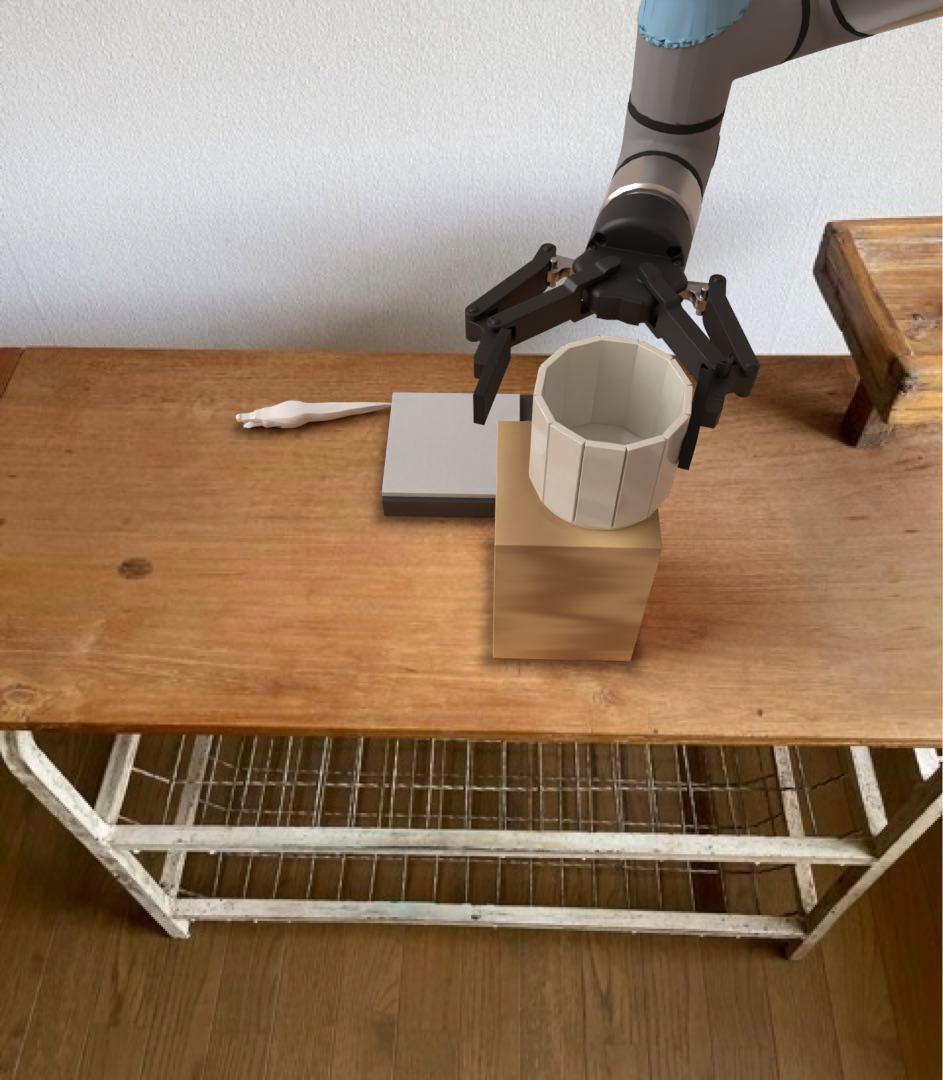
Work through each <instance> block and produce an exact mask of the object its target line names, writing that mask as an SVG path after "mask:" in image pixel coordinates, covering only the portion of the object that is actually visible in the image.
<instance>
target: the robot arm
mask: <svg viewBox="0 0 943 1080" xmlns="http://www.w3.org/2000/svg"><path fill="white" fill-rule="evenodd" d="M637 11H638V12H637V16H636V23H637V26H636V27H637V28H636V29H637V30H636V41H635V49H634V50H635V51H634V59H633V70H632V78H631V89H630V92H629V94H628V95H629V97H628V102H627V107H626V113H625V120H624V128H623V136H622V144H621V148H620V153H619V157H618V160H617V163H616V165H615V168H614V171H613V175H612V176H611V177H612V178H611V180H610V183H609V184H608V188H607V190H606V192H605V194H604V198H603V200H602V203H601V205H600V208H599V211H598V215H597V217H596V219H595V222H594V225H593V227H592V230H591V232H590V236H589V238H588V241H587V243H586V246H585V249H584V251H583V252H582V253H581V254H580V255H579V256H577V257H576V258H575V259H573V258H572V257H571V258H570V257H566V256H563V255H559V254H557V246H556V245H555V244H553V243H551V242H546V243H543V244H541V245H540V247H539V248H538V249H537V252H536V253H535V255H534V256H533V258H532V259H530V261H528V262H527V263H525V264H524V265H523V266H521V267H520V268H519V269H517V270H515V272H513V273H512V274H510V275H509V276H508V277H506V278H505V279H503V280H502V281H500V282H499V283H498V284H496V285H495V286H494V287H492V288H490V289H489V290H488V291H486V292H485V293H484V294H482V295H481V296H479V297H478V298H477V299H475V300H474V301H472V302H471V303H469V304H468V305H467V306H466V307H465V308H464V330H465V331H464V332H465V334H464V335H465V339H466V340H467V341H468V342H471V343H477V342H479V344H478V346H477V348H476V350H475V353H474V354H473V359H472V360H473V378H474V379H478V382H477V384H476V387H474V391H473V392H472V393H473V423H476V424H480V425H485V422H486V420H487V417H488V415H489V412H490V410H491V407H492V405H493V402H494V400H495V397H496V395H497V394H498V392H499V389H500V387H501V384H502V382H503V379H504V378H505V374H506V372H507V370H508V367H509V365H510V362H511V359H512V357H511V356H512V348H513V347H515V346H517V345H519V344H521V343H523V342H526V341H528V340H530V339H532V338H534V337H537V336H539V335H541V334H543V333H544V332H547V331H549V330H551V329H554V328H556V327H558V326H560V325H562V324H564V323H566V322H568V321H571V322H572V323H578V322H580V321H582V320H584V319H586V318H589V317H590V316H592V315H593V316H594V315H596V316H595V318H596V319H600V320H605V321H619V322H620V323H624V324H627V325H631V326H635V327H639V325H640V324H645V326H646V327H647V329H649V331H650V332H651V333H652V335H653V336H654V337H655V339H657V340H661V339H662V340H663V342H664V343H665V344H666V345H667V347H668V349H670V351H671V352H672V353H673V354H674V356H675V357H676V359H678V360H679V362H680V363H681V364H682V365H683V367H684V368H685V369H686V370H687V372H688V373H689V374H690V376H691V377H692V378H693V379H694V380H695V382H696V386H695V389H694V391H693V392H694V393H693V395H692V408H691V416H690V420H689V424H688V428H687V431H686V435H685V439H684V442H683V446H682V450H681V454H680V457H679V461H678V465H677V469H680V470H686V471H690V468H691V465H692V461H693V457H694V454H695V450H696V447H697V445H698V439H699V435H700V429H701V427H703V428H707V429H712V430H713V429H714V430H715V428H716V427H717V426H718V425H719V422H720V419H721V416H722V413H723V408H724V403H725V399H726V396H727V395H728V394H735V396H738V398H739V397H740V398H748V397H750V396H751V395H752V392H753V389H754V386H755V383H756V380H757V377H758V374H759V372H760V368H761V364H760V362H759V359H758V358H757V355H756V354H755V352H754V349H753V347H752V346H751V344H750V342H749V339H748V337H747V336H746V333H745V332H744V329H743V328H742V327H743V326H742V325H741V323H740V322H739V319H738V317H737V315H736V313H735V311H734V309H733V307H732V305H731V303H730V301H729V299H728V296H727V277H726V276H724V275H723V274H720V273H714V274H711V275H710V276H709V278H708V282H703V281H694V280H689V279H688V277H687V276H686V275H687V274H686V273H685V271H686V268H687V264H688V260H689V257H690V252H691V248H692V244H693V240H694V236H695V233H696V230H697V226H698V221H699V219H700V215H701V211H702V205H703V201H704V196H705V192H706V190H707V185H708V183H709V179H710V176H711V173H712V170H713V168H714V165H715V162H716V159H717V157H718V156H717V155H718V151H719V146H720V141H721V131H722V124H723V120H724V117H725V114H726V109H727V106H728V101H729V96H730V94H731V89H732V86H733V85H732V84H733V82H734V81H735V80H738V79H741V78H744V77H747V76H750V75H753V74H756V73H759V72H763V71H765V70H768V69H771V68H773V67H777V66H780V65H783V64H786V63H787V62H790V61H793V60H797V59H800V58H803V57H807V56H809V55H812V54H815V53H818V52H821V51H825V50H828V49H831V48H835V47H839V46H842V45H846V44H849V43H852V42H853V43H854V42H857V41H860V40H863V39H867V38H872V37H874V36H876V35H880V34H883V33H887V32H890V31H893V30H897V29H900V28H905V27H908V26H912V25H915V24H919V23H923V22H927V21H931V20H934V19H939V18H941V17H942V18H943V0H640V4H639V7H638V10H637ZM564 278H566V279H565V280H564V281H563V283H561V284H560V285H558V286H557V283H558V282H559V281H560V280H562V279H564ZM548 288H551V289H549V290H547V289H548ZM684 300H685V301H688V302H690V303H691V304H692V307H693V309H695V315H696V316H697V317H701V321H702V325H703V328H704V330H705V332H706V334H705V332H704V331H703V330H702V329H701V327H700V326H699V325H698V324H697V323H696V322H695V320H694V319H693V318H692V316H690V314H689V313H688V312H687V311H686V310H685V309H684V307H683V305H682V303H683V302H684Z"/></svg>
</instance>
